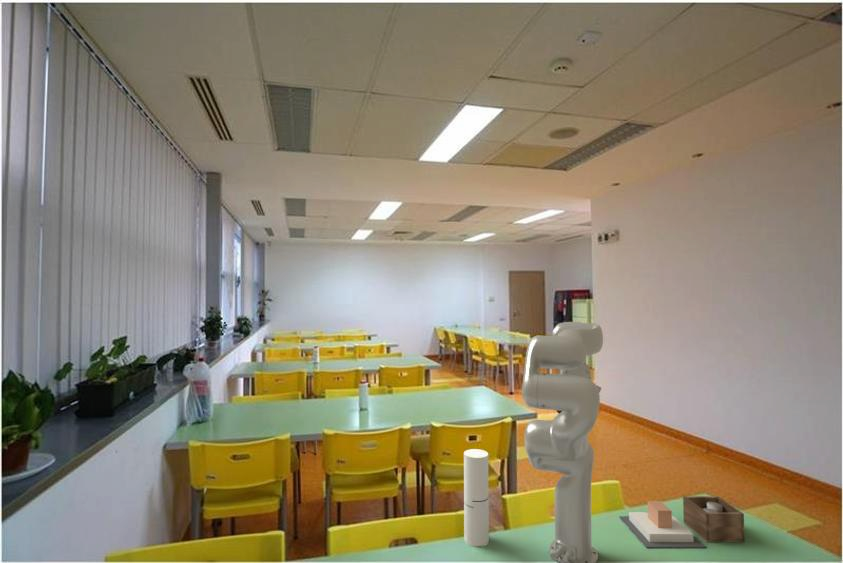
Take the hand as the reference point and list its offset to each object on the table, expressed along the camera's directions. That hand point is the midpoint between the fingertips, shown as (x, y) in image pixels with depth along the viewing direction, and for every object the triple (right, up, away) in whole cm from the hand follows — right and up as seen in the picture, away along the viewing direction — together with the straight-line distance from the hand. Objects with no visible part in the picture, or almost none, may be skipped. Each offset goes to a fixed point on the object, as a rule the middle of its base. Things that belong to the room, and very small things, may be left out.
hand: (574, 413), depth 141 cm
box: (+39, -33, -9) cm, 52 cm away
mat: (+23, -33, -10) cm, 41 cm away
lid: (+22, -33, -9) cm, 41 cm away
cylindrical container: (-33, -33, -14) cm, 49 cm away
